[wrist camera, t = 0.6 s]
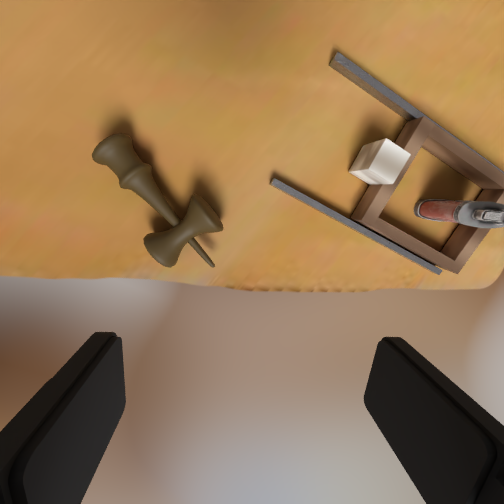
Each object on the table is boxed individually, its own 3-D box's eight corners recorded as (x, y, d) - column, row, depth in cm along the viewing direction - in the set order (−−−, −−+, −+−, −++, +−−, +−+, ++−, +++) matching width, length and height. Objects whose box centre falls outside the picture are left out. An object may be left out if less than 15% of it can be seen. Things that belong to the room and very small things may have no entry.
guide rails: (332, 58, 30) (337, 51, 29) (498, 176, 37) (509, 175, 35) (269, 184, 33) (271, 184, 32) (431, 272, 40) (439, 275, 39)
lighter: (462, 201, 37) (544, 206, 28) (455, 222, 38) (532, 234, 28) (417, 196, 36) (485, 199, 27) (411, 218, 37) (475, 228, 27)
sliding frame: (384, 107, 32) (412, 92, 27) (498, 186, 37) (539, 186, 32) (329, 206, 35) (345, 209, 30) (441, 267, 40) (470, 278, 35)
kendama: (147, 124, 30) (240, 242, 35) (94, 170, 32) (192, 278, 36) (126, 109, 25) (241, 252, 30) (62, 166, 26) (183, 295, 31)
